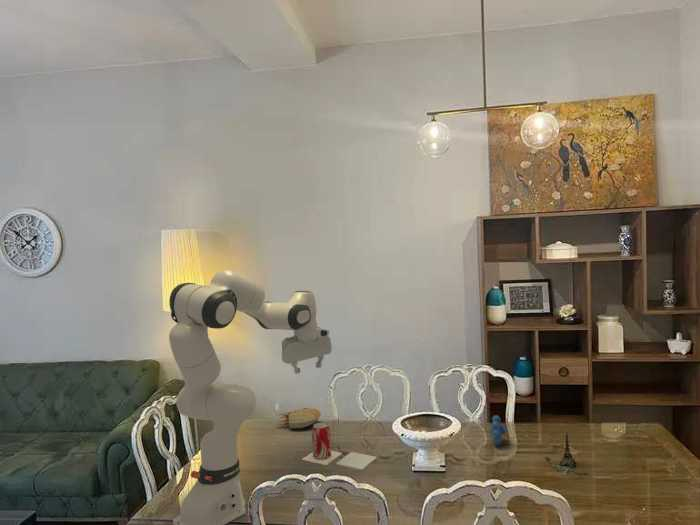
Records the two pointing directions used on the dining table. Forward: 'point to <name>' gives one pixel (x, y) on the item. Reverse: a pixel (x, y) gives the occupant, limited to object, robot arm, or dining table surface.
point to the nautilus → (301, 418)
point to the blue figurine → (497, 430)
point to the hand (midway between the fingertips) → (308, 370)
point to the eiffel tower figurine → (566, 462)
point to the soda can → (321, 440)
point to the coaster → (356, 461)
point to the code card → (322, 461)
